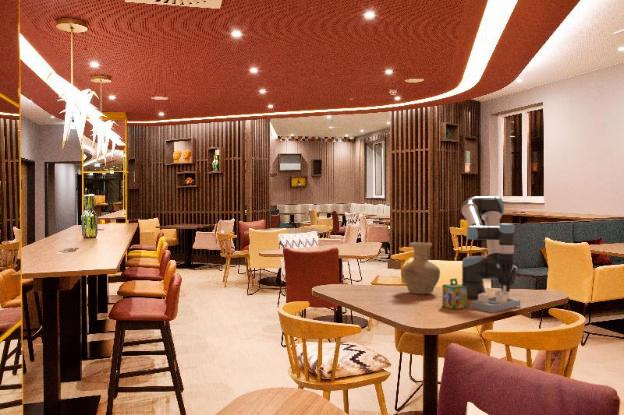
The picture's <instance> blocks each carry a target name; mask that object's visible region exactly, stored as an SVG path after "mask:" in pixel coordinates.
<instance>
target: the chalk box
mask: <svg viewBox="0 0 624 415" xmlns="http://www.w3.org/2000/svg"><path fill="white" fill-rule="evenodd" d="M449 281H450V284H449V283H448V284H442V301H441V302H442V303H441V304H442V308H447V309H452V310H462V309H467V303H468V299H467V286H463V285H462V284H458V279H457V278H450V279H449ZM453 282H455V283H453Z"/></svg>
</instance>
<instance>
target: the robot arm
mask: <svg viewBox="0 0 624 415" xmlns="http://www.w3.org/2000/svg"><path fill="white" fill-rule="evenodd" d="M504 205H505V204H504V202H503V199H502V198H501V197H500V196H494V195H491V196H483V195H482V196H479V195H478V196H477V195H475V196H471V197H469V198H466V200H464V201H463V203H462V205H461V208H460V210H461V213H462V215H463V217H465V220H466V223H467V225H468V226H467V227H466V238H467V239H468V240H474V241H477V240H479V241H481V240H483V241H485V240H486V244H487V245H486V247H487V255H486V256H485V258H484V256H483V255H473V256H472V255H471V256H466V257H464V258H463V259H462V263H461V267H462V268H461V270H462V272H461V275H462V276H461V285H463V286H467V300H478V294H481V293H486V294H487V292H486V289H485V285H484V280H497V281H498V284H500V285H501V290H502V291H503V293H504V294H505V295H507V298H510V297H509V292H510V291H511V286H512V285H514V284H515V278H516V275H517V271H518V270H519V267H518V266H516V265H515V263H514V261H515V253H514V252H515V224H513V223H505V222H504V223H501V222H500V220H501V218H502V217H503V215H504V213H505V208H504V207H505V206H504ZM480 216H481V217H480ZM482 220H483V221H484V225H483V222H482Z"/></svg>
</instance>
